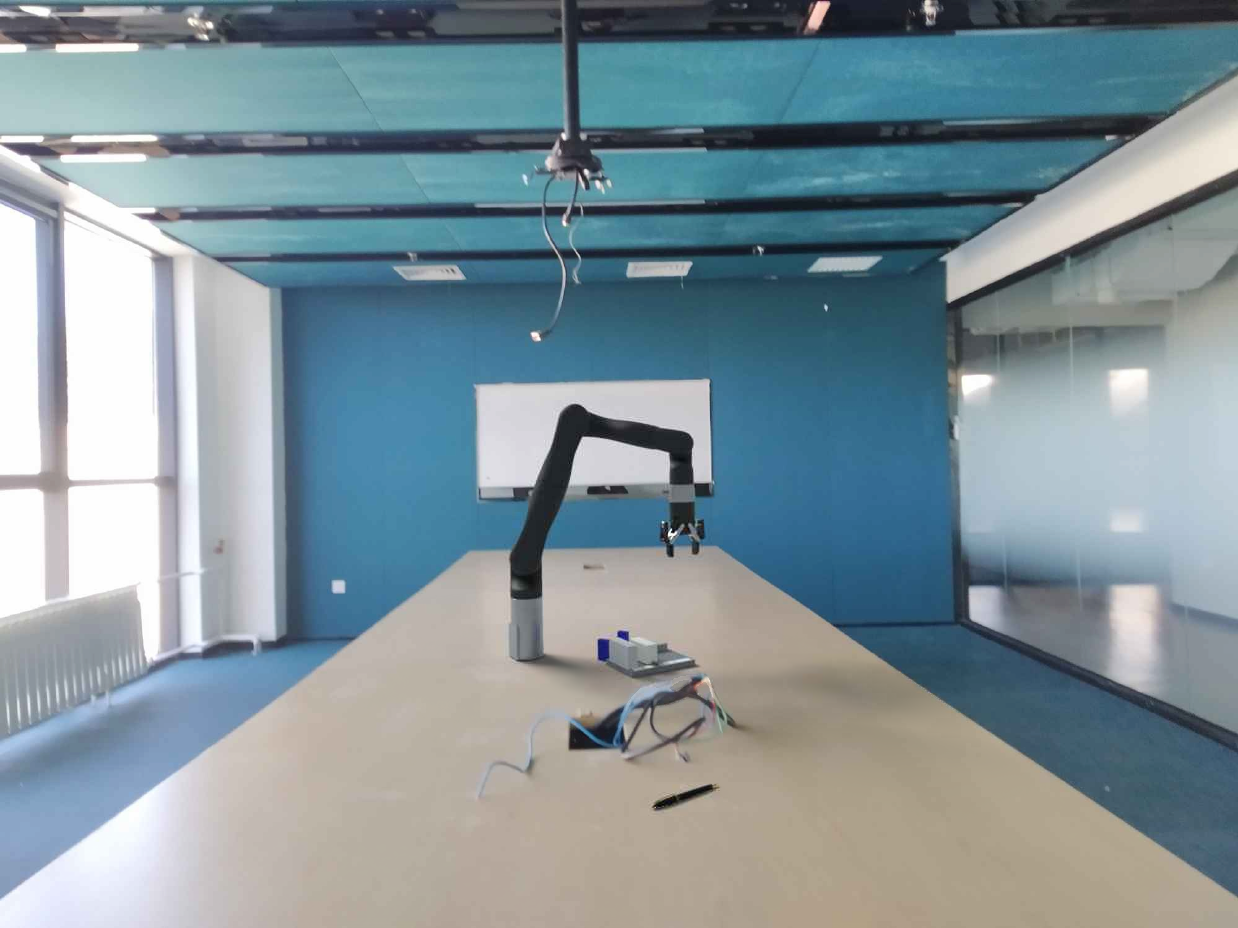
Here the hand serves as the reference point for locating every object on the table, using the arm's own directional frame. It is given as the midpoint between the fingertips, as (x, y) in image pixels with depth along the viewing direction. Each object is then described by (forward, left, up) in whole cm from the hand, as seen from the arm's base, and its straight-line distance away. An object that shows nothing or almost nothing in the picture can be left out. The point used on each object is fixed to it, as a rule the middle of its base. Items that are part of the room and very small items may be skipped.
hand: (683, 555), depth 206 cm
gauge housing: (-15, -5, -28) cm, 32 cm away
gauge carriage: (-17, -6, -26) cm, 32 cm away
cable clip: (-19, +9, -28) cm, 36 cm away
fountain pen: (-50, -72, -29) cm, 92 cm away
